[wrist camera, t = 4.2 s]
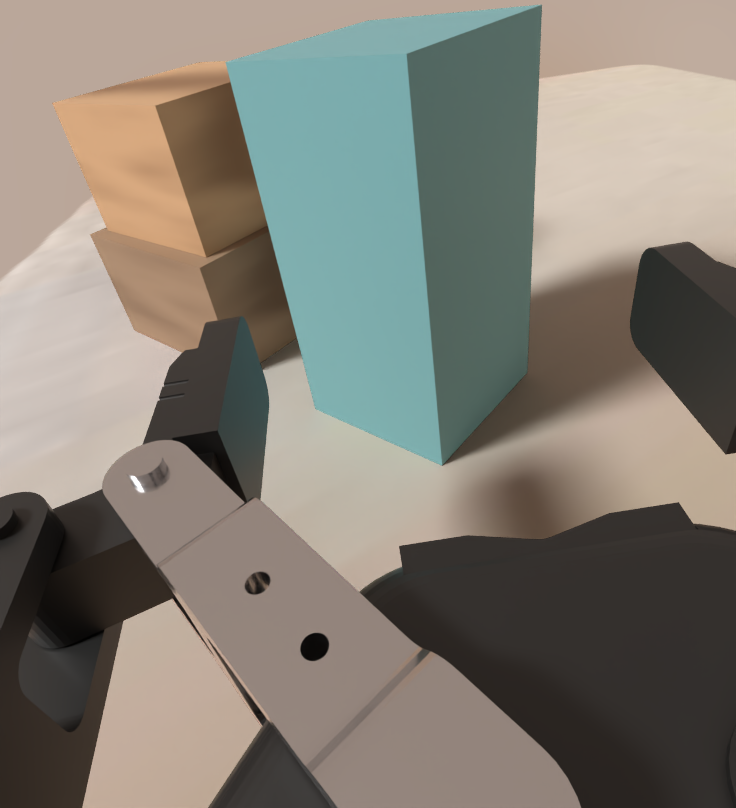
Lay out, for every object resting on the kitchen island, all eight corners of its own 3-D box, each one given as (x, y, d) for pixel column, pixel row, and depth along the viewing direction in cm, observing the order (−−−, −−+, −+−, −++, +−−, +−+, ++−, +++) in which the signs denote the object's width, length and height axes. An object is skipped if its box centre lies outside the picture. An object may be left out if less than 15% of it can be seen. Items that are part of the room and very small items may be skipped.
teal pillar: (405, 335, 24) (367, 20, 17) (527, 372, 20) (541, 4, 14) (315, 408, 21) (225, 62, 14) (442, 465, 17) (406, 54, 11)
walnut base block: (257, 264, 32) (232, 173, 29) (365, 294, 27) (348, 189, 24) (135, 333, 28) (90, 234, 24) (239, 381, 23) (199, 268, 20)
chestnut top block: (231, 176, 28) (199, 62, 25) (333, 191, 24) (310, 56, 21) (108, 230, 24) (51, 102, 21) (206, 257, 21) (155, 105, 17)
